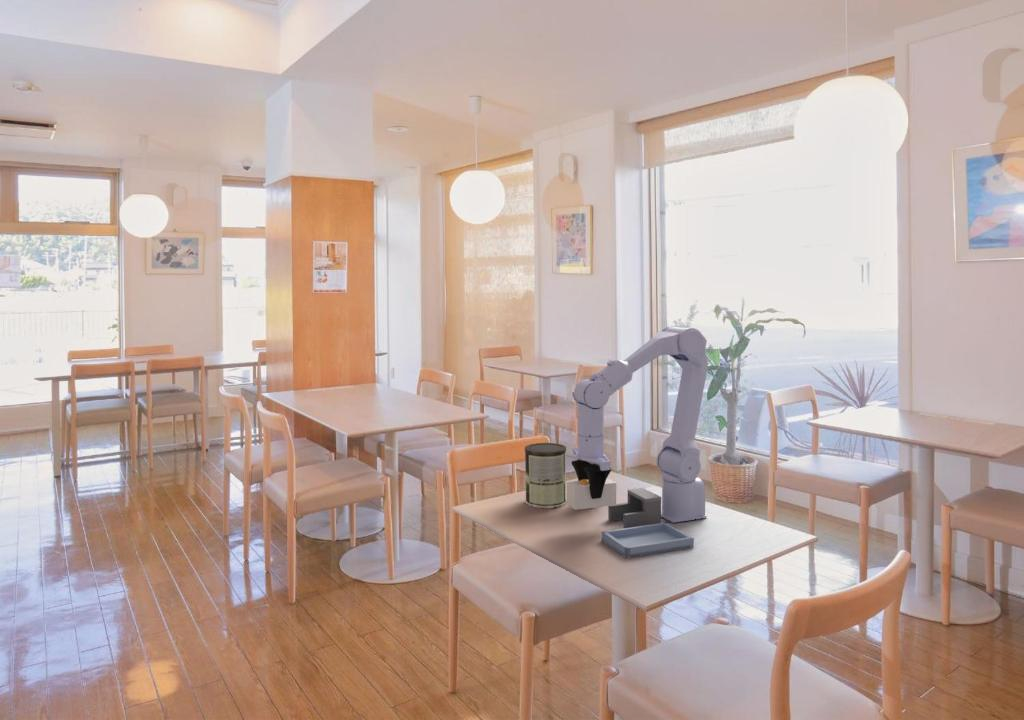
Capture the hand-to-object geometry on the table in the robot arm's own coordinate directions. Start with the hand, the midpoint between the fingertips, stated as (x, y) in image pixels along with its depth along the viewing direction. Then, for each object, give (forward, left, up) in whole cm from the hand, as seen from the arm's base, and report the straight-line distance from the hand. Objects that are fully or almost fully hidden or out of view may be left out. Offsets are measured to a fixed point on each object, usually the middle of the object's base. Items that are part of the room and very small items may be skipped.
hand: (591, 495), depth 159 cm
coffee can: (+2, -22, -8) cm, 23 cm away
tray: (-6, +13, -8) cm, 16 cm away
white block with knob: (0, 0, -2) cm, 2 cm away
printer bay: (-11, 0, -8) cm, 13 cm away
